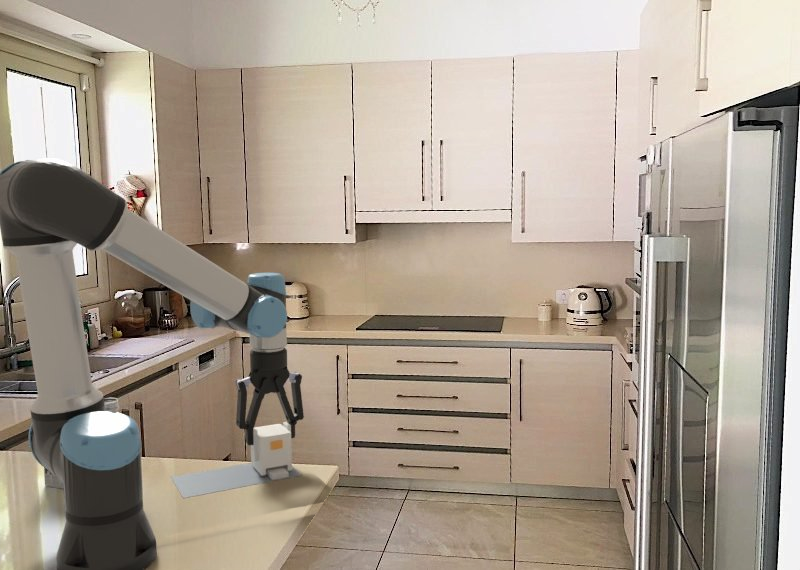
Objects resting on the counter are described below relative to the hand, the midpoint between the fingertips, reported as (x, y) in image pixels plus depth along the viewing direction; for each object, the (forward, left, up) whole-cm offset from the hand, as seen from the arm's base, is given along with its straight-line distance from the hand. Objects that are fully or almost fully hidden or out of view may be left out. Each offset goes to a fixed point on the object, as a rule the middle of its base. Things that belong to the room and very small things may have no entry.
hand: (271, 456), depth 156 cm
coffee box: (+18, +37, -5) cm, 41 cm away
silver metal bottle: (+3, +31, -5) cm, 31 cm away
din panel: (0, +7, -4) cm, 9 cm away
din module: (0, 0, -2) cm, 2 cm away
